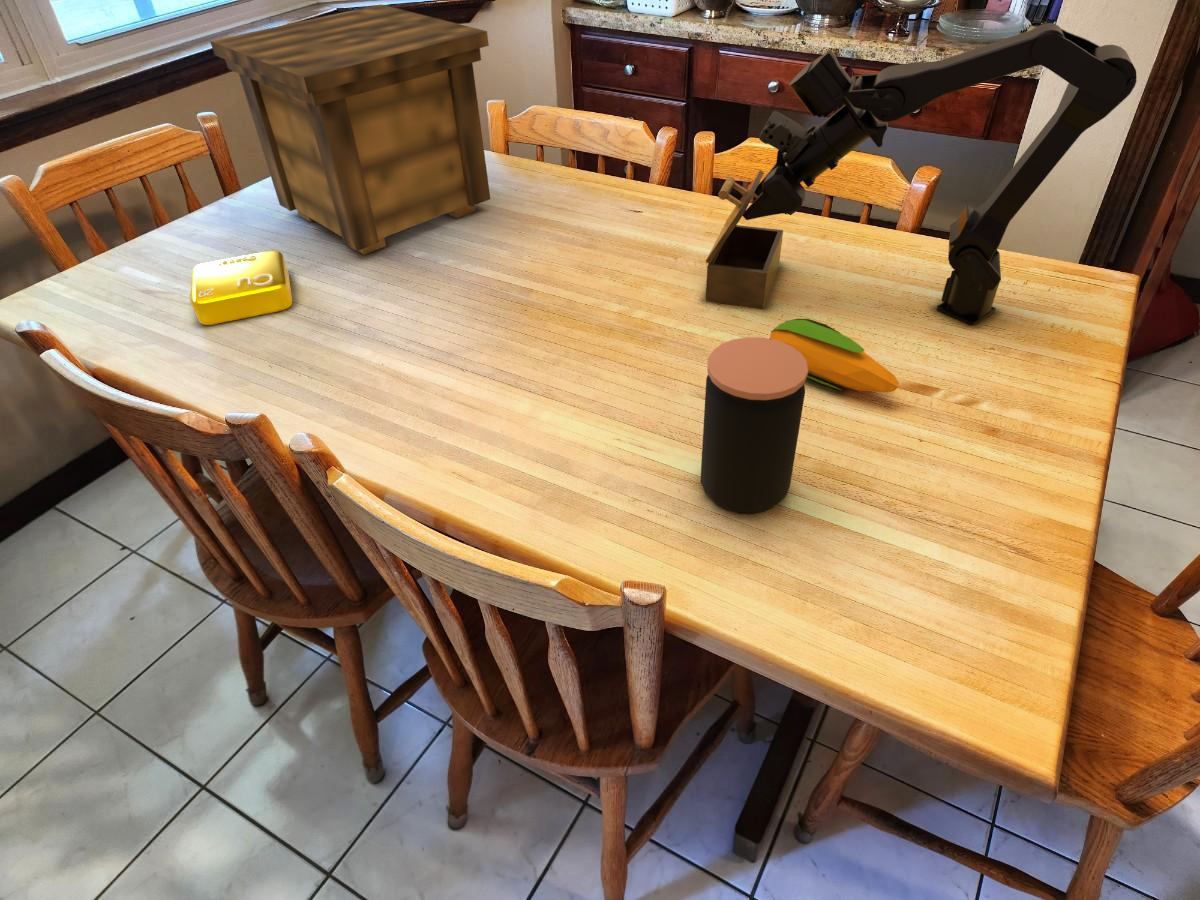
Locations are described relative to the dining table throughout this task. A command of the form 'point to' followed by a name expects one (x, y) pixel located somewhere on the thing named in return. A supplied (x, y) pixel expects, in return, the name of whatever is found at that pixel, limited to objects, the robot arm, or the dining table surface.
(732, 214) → the brown box lid
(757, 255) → the brown wooden box
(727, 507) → the coffee jar
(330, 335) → the dining table surface
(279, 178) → the crate
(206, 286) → the element tile
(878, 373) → the corn
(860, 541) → the dining table surface
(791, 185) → the robot arm
